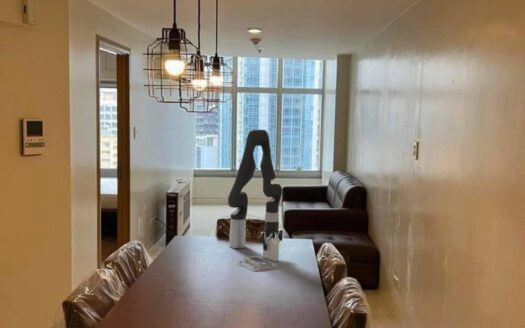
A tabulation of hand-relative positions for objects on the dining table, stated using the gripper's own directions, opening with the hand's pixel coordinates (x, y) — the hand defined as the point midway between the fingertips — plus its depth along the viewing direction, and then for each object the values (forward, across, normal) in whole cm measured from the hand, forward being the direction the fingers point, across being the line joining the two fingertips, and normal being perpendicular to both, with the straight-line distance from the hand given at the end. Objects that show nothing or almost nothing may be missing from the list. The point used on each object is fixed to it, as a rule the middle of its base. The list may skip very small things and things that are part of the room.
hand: (270, 249), depth 275 cm
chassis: (+5, +14, +7) cm, 16 cm away
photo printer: (+6, 0, 0) cm, 6 cm away
